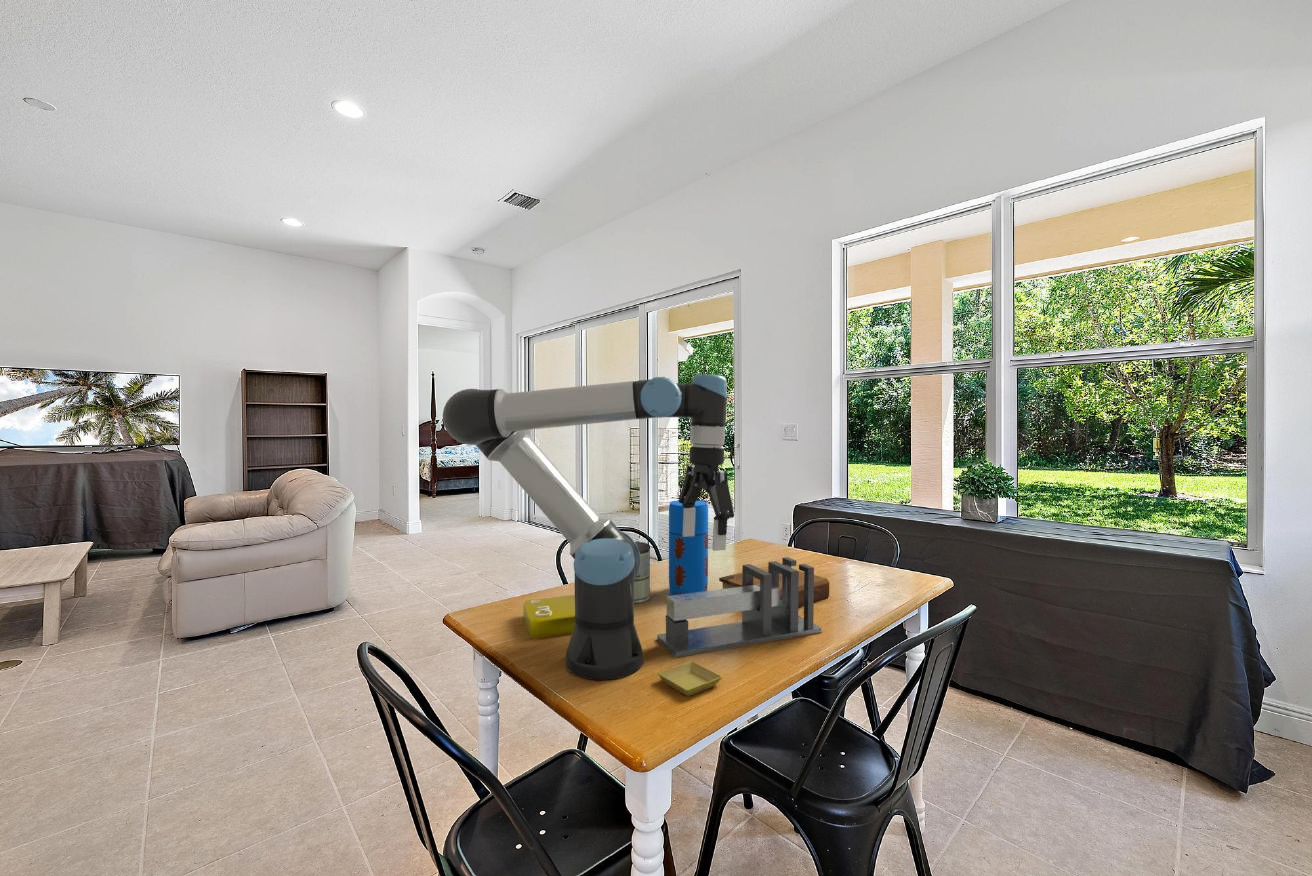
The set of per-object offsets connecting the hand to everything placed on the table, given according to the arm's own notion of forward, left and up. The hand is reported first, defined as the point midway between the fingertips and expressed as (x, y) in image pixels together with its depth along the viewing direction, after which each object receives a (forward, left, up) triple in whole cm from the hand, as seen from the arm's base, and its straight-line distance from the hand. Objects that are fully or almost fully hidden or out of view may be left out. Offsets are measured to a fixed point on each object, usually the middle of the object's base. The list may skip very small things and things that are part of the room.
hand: (702, 542), depth 121 cm
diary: (+30, +18, -22) cm, 41 cm away
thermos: (+10, +30, -21) cm, 38 cm away
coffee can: (-6, +32, -21) cm, 39 cm away
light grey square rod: (+4, -2, -15) cm, 16 cm away
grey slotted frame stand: (+8, -2, -21) cm, 23 cm away
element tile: (-28, +20, -22) cm, 41 cm away
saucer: (-12, -18, -22) cm, 31 cm away
